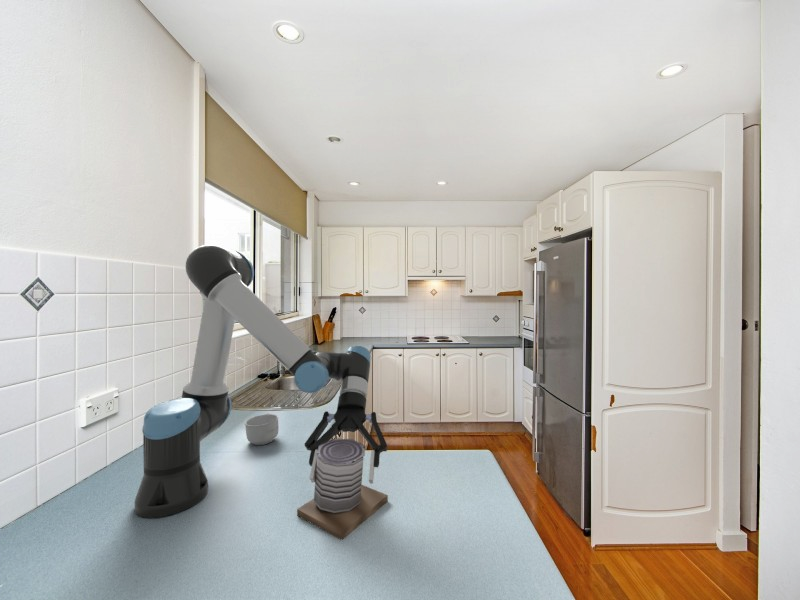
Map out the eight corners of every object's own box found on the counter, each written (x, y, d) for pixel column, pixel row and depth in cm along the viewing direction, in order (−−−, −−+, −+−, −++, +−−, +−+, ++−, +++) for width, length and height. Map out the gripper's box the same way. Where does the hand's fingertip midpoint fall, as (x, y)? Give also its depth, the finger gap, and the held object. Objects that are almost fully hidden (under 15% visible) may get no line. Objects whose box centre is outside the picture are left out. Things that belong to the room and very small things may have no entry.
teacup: (271, 448, 112) (271, 424, 112) (239, 448, 113) (238, 424, 113) (286, 432, 126) (286, 410, 126) (257, 431, 127) (257, 410, 127)
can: (371, 496, 82) (375, 447, 82) (338, 520, 73) (342, 465, 73) (337, 480, 89) (340, 434, 89) (302, 499, 79) (306, 448, 79)
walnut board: (341, 539, 70) (341, 532, 70) (297, 515, 77) (297, 509, 77) (387, 501, 83) (387, 495, 83) (345, 483, 91) (345, 478, 91)
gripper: (398, 404, 95) (396, 487, 80) (311, 403, 96) (292, 485, 81) (397, 390, 90) (395, 476, 75) (304, 389, 91) (283, 474, 76)
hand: (341, 481), depth 78 cm, fingers open, 13 cm apart
